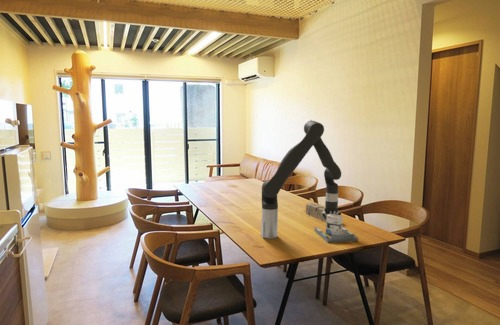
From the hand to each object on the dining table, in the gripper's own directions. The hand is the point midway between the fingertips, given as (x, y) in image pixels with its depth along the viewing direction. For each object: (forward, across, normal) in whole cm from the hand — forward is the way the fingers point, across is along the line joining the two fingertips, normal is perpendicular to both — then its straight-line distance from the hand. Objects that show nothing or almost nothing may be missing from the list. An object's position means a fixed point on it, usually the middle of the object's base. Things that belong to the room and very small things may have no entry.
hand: (330, 227), depth 207 cm
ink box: (+3, 0, -6) cm, 6 cm away
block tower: (+3, +5, +29) cm, 29 cm away
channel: (+2, -1, -8) cm, 8 cm away
